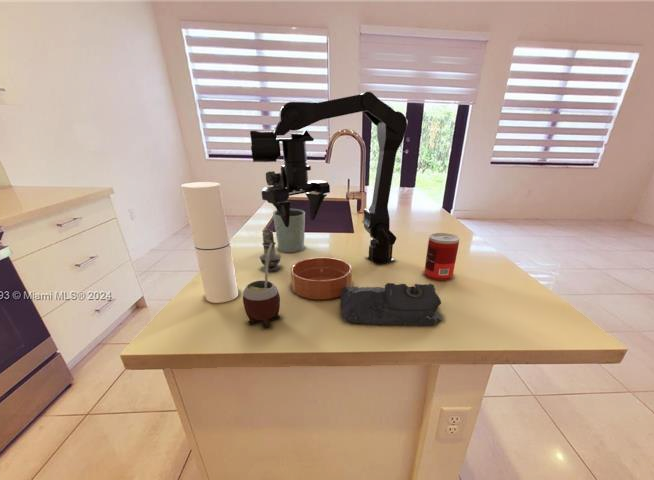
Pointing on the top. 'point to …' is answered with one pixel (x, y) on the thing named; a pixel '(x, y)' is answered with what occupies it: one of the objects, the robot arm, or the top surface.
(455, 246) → the canned food
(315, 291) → the bowl
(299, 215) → the green cup
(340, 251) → the top surface
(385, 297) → the dark slate chunk
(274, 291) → the mate gourd
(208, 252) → the cylindrical container
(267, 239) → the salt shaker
